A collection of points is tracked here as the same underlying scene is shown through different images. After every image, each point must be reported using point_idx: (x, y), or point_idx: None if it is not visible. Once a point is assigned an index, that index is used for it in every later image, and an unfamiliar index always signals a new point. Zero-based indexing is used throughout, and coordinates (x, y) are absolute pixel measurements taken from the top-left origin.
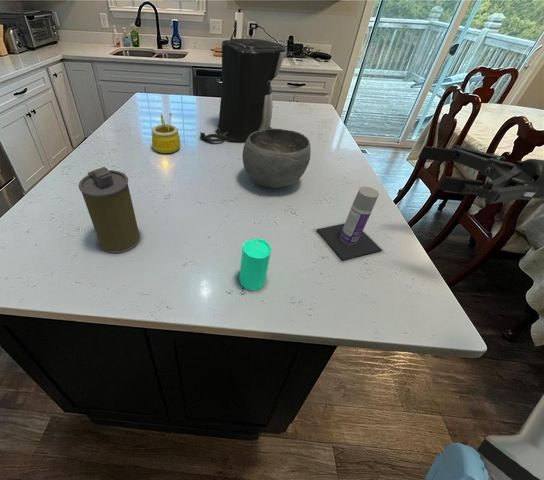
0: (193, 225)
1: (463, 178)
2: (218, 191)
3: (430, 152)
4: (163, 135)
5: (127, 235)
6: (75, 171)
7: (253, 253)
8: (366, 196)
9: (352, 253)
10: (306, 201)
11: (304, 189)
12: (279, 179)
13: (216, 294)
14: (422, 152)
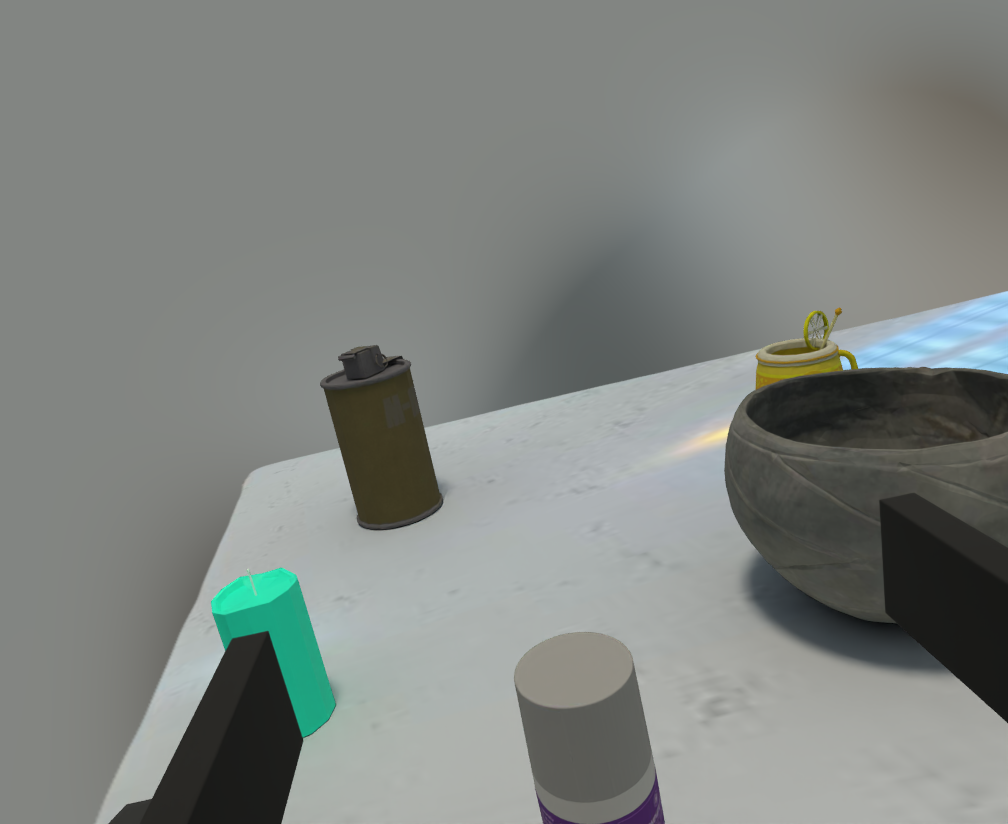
0: (491, 556)
1: (214, 742)
2: (683, 529)
3: (930, 580)
4: (765, 360)
5: (366, 493)
6: (583, 400)
7: (238, 595)
8: (517, 667)
9: None
10: (858, 725)
11: (965, 692)
12: (767, 549)
13: None
14: (885, 554)
